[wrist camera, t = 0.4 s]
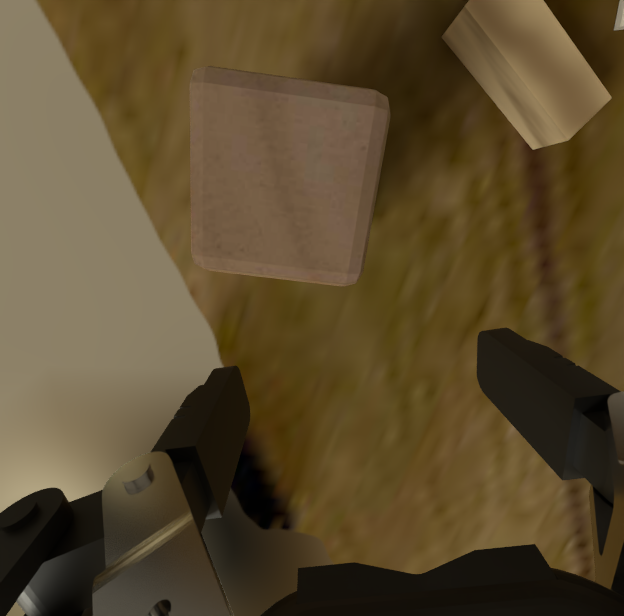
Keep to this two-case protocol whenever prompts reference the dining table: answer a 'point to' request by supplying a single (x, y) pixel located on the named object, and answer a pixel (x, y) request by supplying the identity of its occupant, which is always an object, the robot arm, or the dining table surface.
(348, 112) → the wooden block
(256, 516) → the dining table surface
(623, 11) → the peg cradle
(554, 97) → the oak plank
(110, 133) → the dining table surface
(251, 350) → the dining table surface
